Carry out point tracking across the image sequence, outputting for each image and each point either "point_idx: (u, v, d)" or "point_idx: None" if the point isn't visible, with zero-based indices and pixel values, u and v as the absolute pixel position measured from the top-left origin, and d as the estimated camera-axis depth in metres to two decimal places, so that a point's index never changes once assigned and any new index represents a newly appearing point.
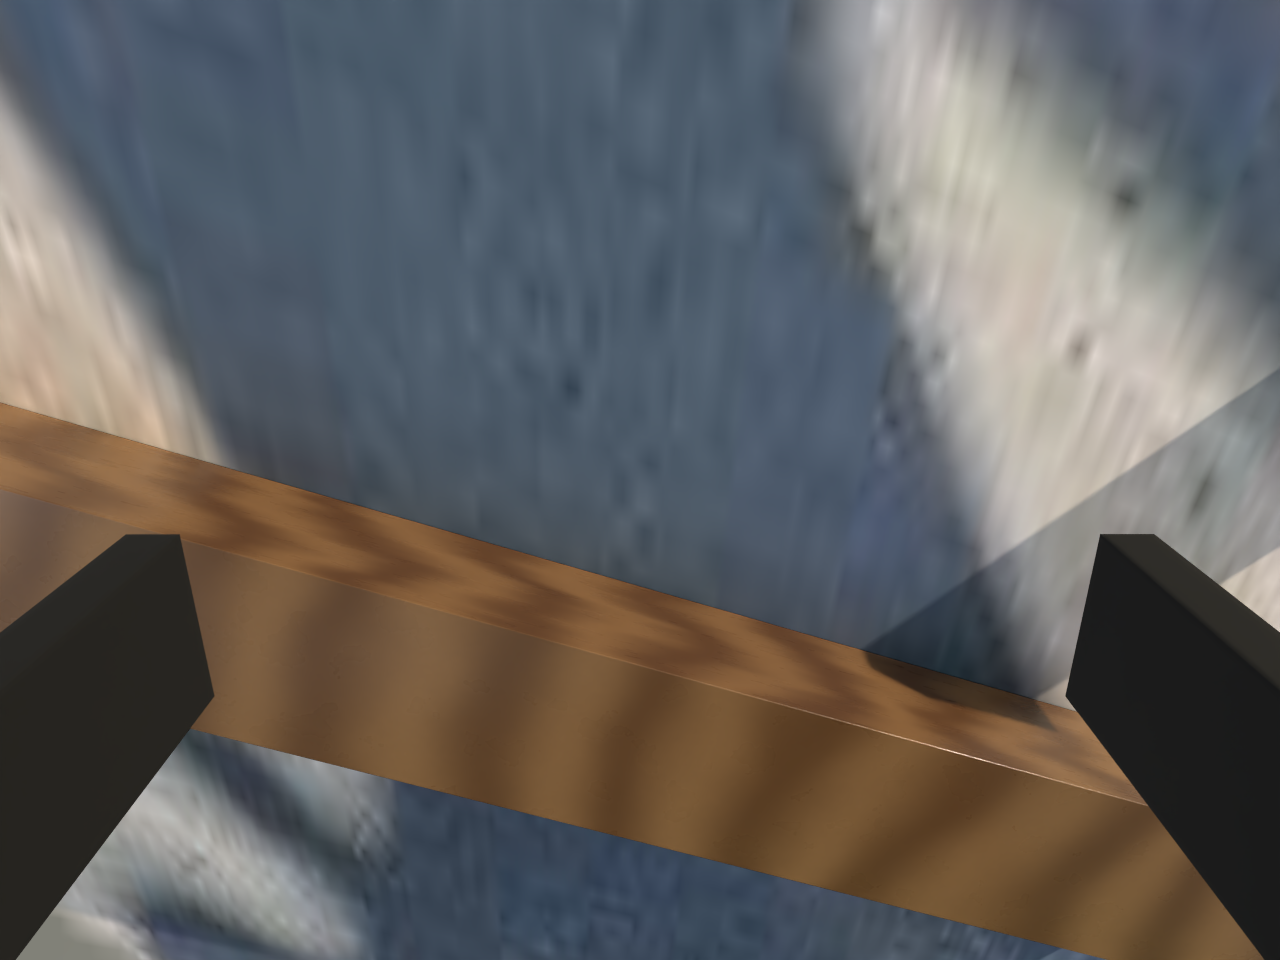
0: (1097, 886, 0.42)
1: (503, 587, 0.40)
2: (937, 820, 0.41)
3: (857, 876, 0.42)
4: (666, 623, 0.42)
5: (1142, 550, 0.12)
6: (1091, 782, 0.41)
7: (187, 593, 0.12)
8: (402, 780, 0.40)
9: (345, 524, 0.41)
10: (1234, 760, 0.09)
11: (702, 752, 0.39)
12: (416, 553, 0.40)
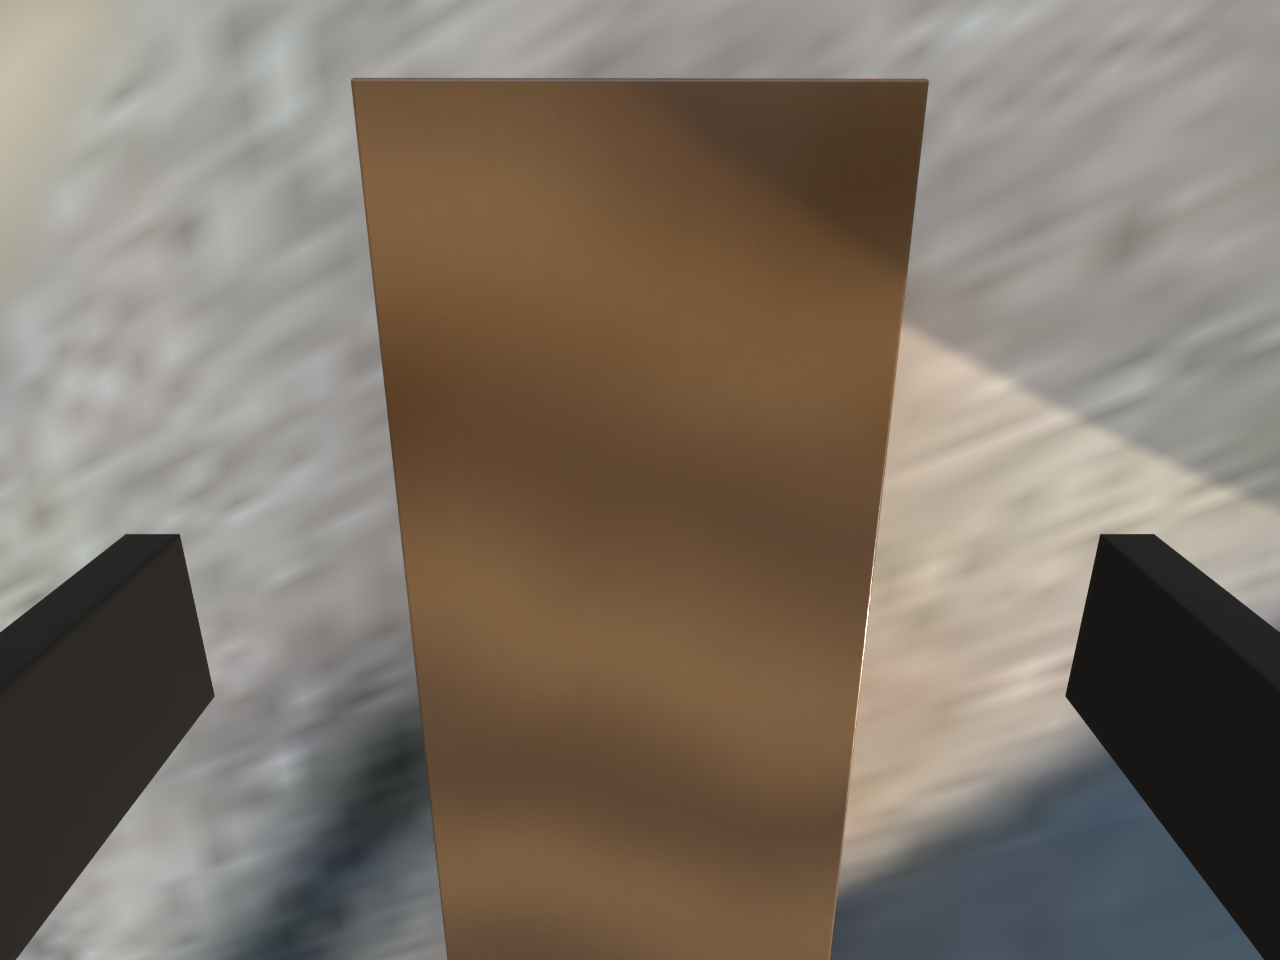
0: None
1: None
2: None
3: None
4: None
5: (1142, 550, 0.12)
6: None
7: (187, 593, 0.12)
8: None
9: None
10: (1234, 760, 0.09)
11: None
12: None
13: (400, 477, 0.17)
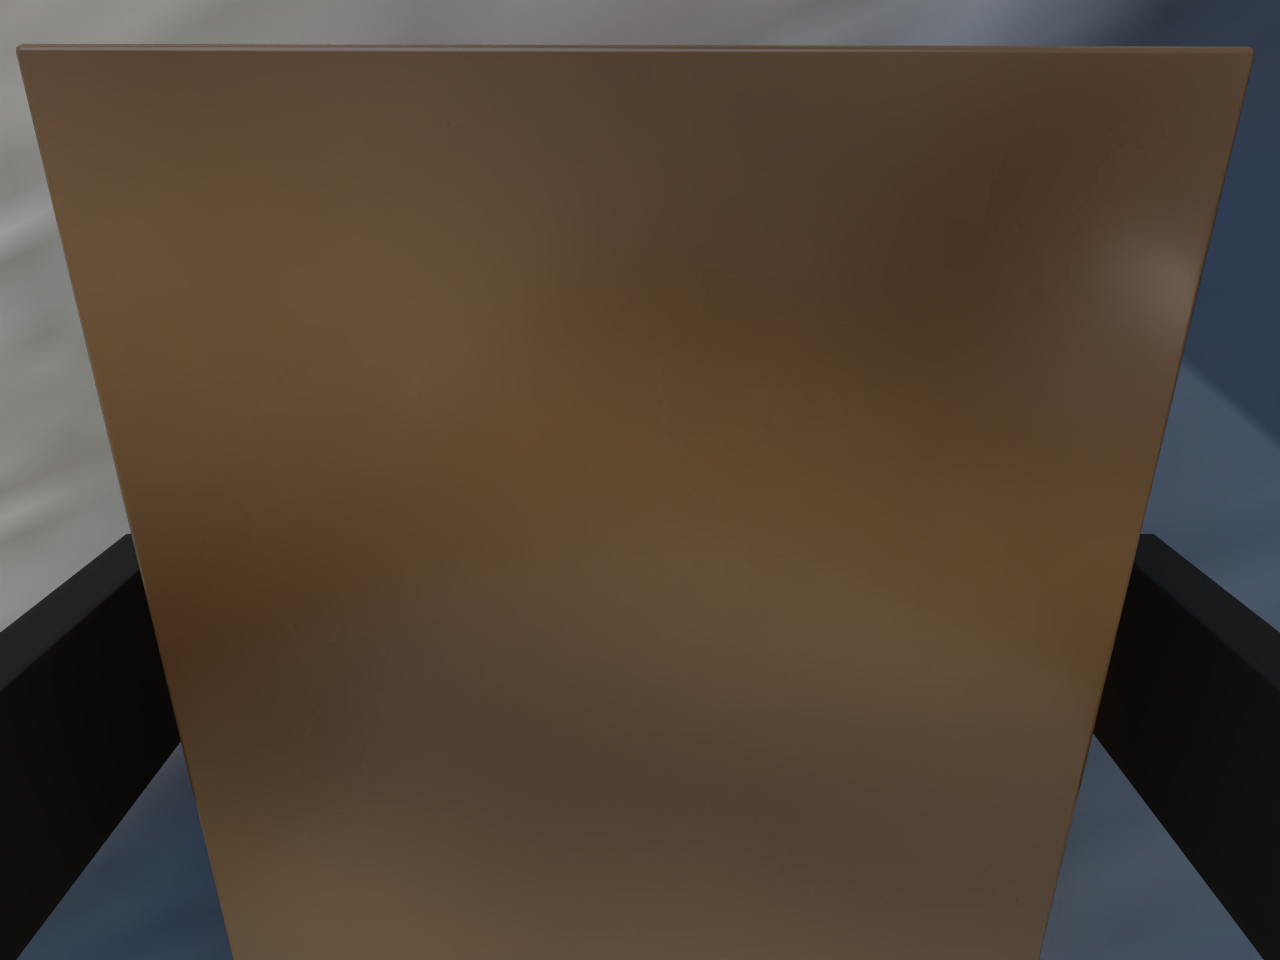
0: None
1: None
2: None
3: None
4: None
5: (1142, 550, 0.12)
6: None
7: None
8: None
9: None
10: (1234, 760, 0.09)
11: None
12: None
13: (202, 783, 0.09)
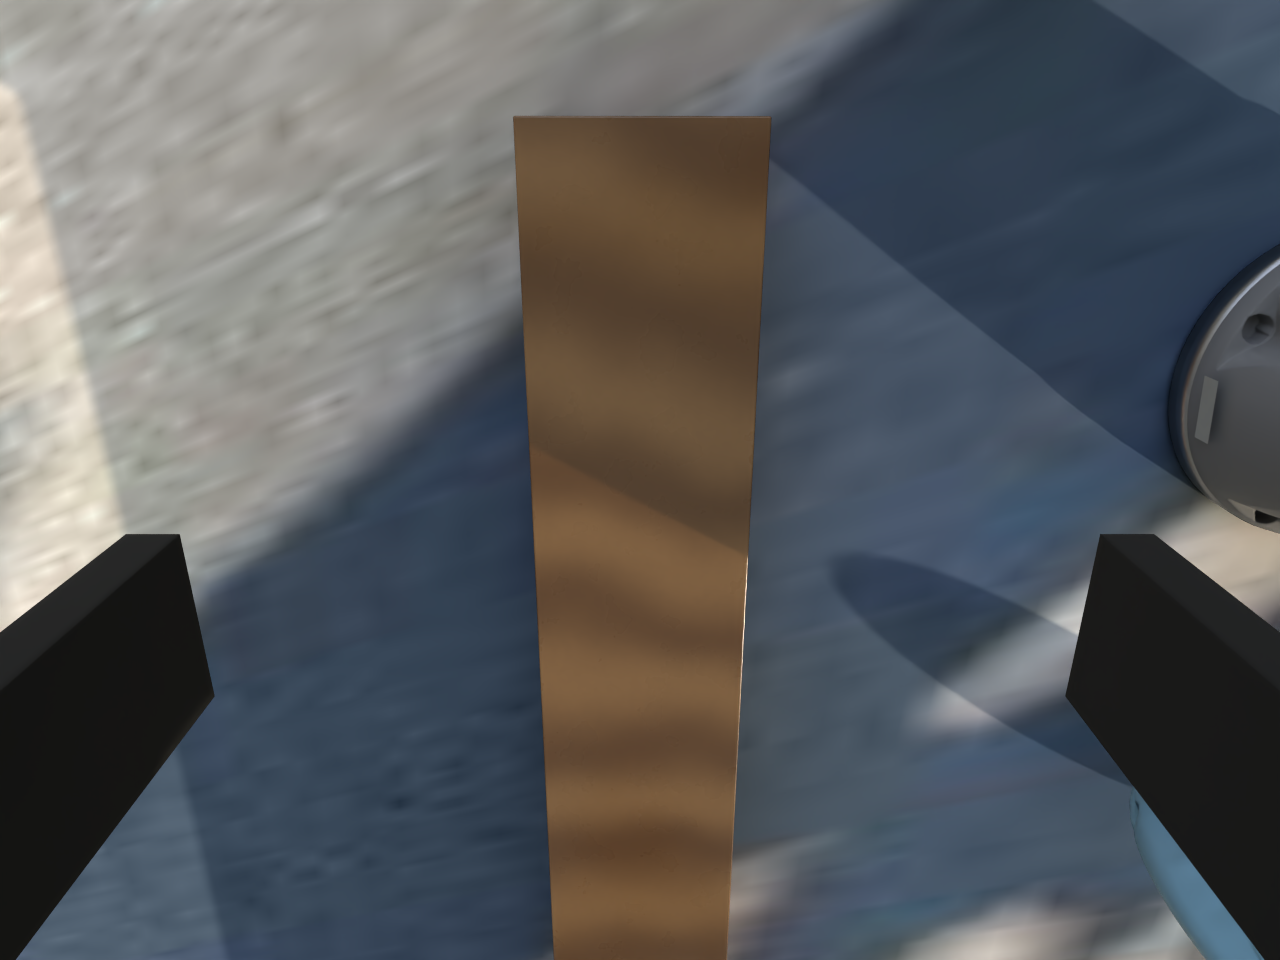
0: None
1: None
2: None
3: None
4: None
5: (1142, 550, 0.12)
6: None
7: (187, 593, 0.12)
8: (554, 911, 0.46)
9: None
10: (1234, 760, 0.09)
11: None
12: None
13: (526, 307, 0.34)
